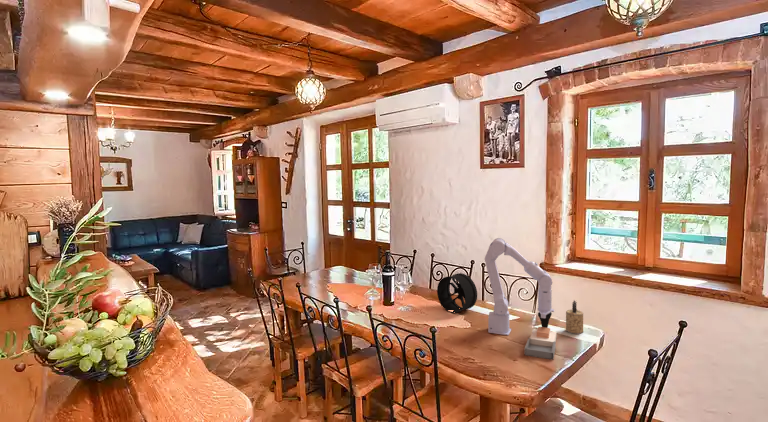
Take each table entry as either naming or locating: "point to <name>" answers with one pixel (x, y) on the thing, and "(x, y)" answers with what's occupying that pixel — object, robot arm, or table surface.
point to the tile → (543, 332)
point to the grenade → (574, 320)
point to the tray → (539, 350)
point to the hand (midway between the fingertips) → (544, 328)
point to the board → (542, 339)
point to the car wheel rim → (464, 291)
